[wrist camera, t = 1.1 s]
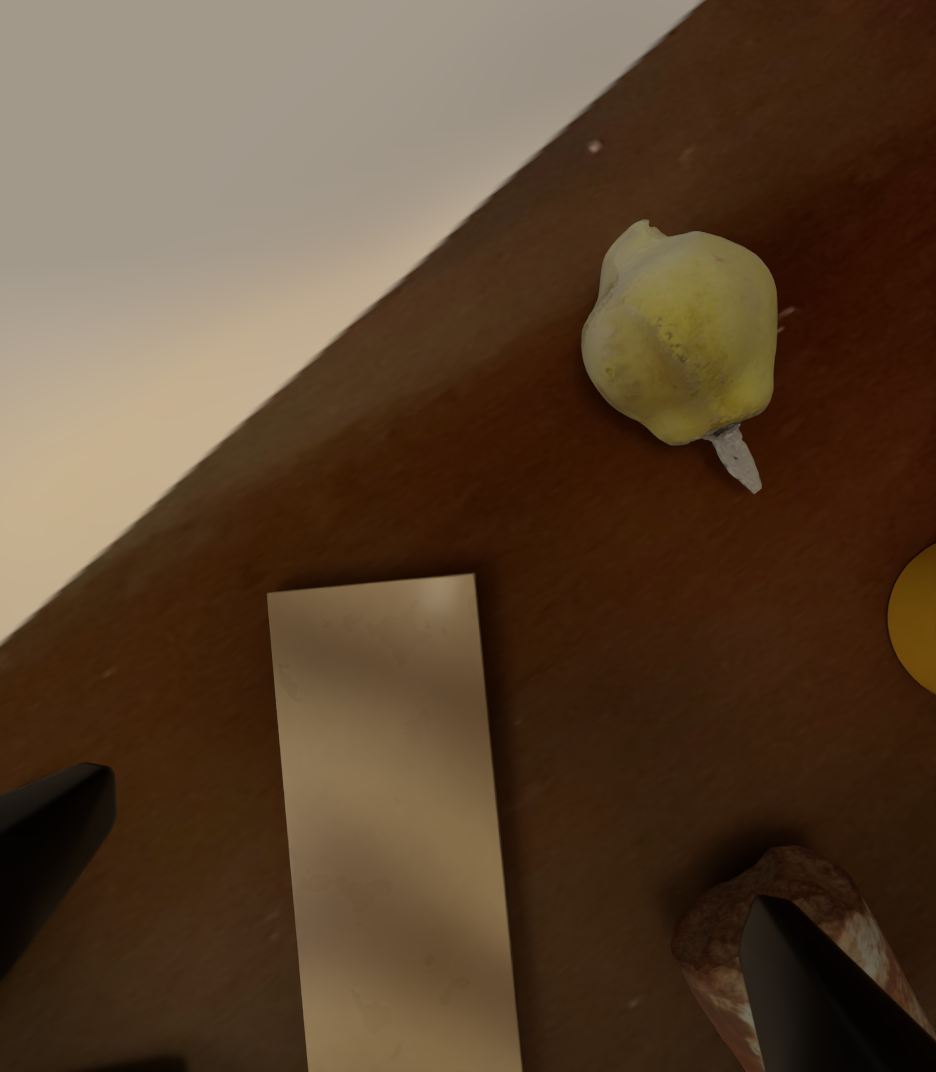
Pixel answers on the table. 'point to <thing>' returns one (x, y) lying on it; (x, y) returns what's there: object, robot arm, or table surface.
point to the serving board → (394, 828)
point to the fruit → (685, 339)
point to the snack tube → (916, 618)
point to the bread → (822, 895)
